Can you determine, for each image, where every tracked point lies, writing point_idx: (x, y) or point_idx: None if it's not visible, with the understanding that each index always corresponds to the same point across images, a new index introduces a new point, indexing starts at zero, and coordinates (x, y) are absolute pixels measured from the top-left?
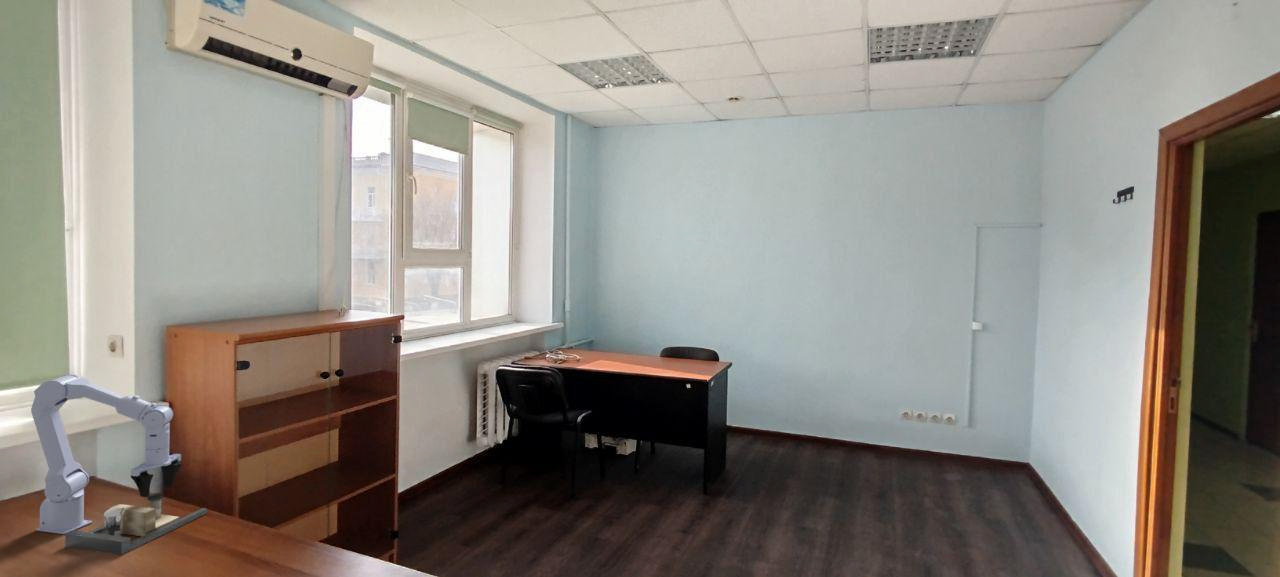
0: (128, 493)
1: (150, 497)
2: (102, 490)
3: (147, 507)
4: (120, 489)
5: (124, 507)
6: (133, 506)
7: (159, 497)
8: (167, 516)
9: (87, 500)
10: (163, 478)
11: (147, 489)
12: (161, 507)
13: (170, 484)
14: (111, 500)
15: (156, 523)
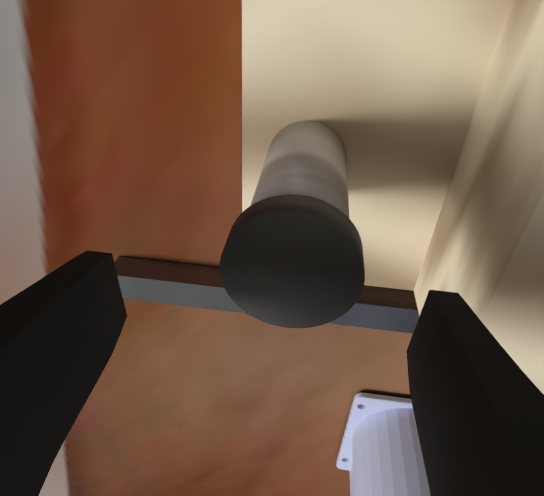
0: (87, 430)
1: (363, 277)
2: (111, 483)
3: (184, 299)
4: (79, 458)
5: (523, 344)
6: (506, 298)
7: (308, 209)
8: (263, 86)
9: (186, 479)
10: (76, 415)
11: (523, 375)
12: (122, 258)
13: (89, 275)
14: (156, 438)
15: (408, 62)
